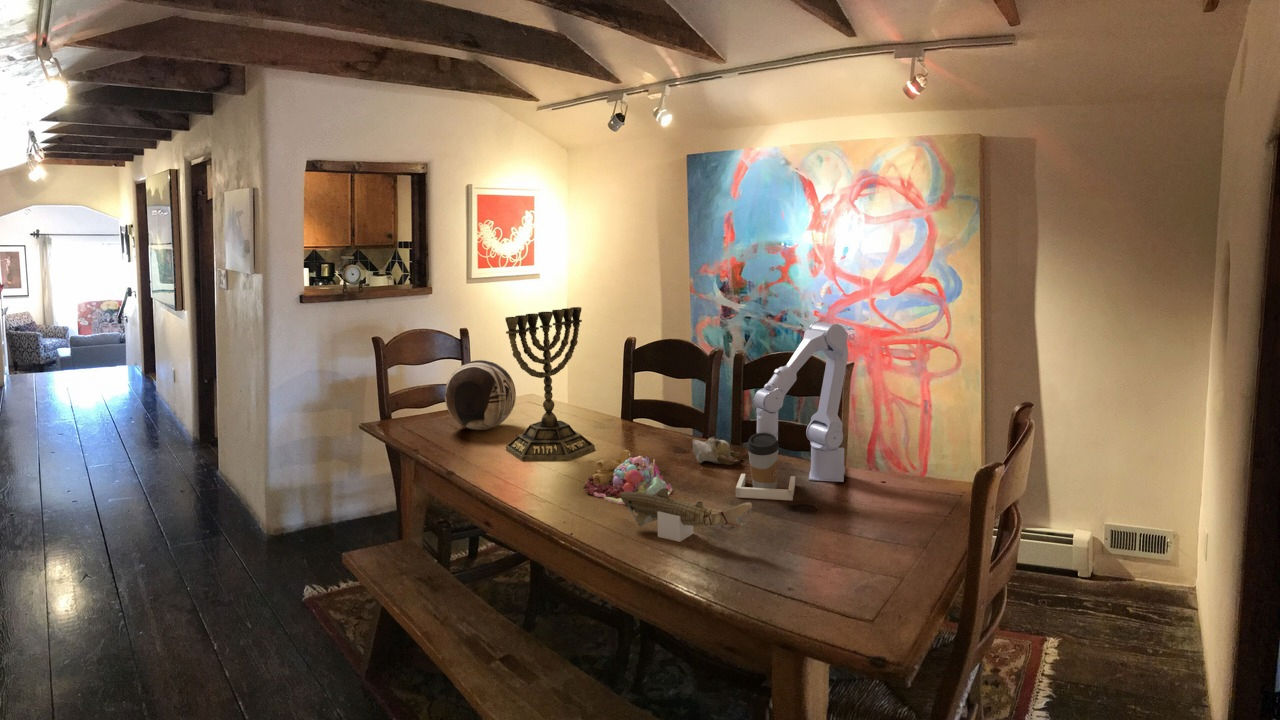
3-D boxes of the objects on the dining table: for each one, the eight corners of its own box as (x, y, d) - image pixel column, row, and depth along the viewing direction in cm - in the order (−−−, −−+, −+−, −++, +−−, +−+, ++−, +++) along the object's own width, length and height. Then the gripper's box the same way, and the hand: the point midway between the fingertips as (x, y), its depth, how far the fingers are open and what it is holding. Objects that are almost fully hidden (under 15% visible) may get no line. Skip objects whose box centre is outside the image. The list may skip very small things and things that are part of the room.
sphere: (435, 436, 288) (431, 366, 284) (462, 420, 313) (458, 355, 309) (504, 438, 284) (500, 366, 280) (525, 421, 309) (523, 355, 305)
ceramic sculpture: (694, 429, 256) (743, 433, 254) (693, 456, 258) (741, 461, 255) (690, 438, 246) (741, 443, 243) (689, 466, 247) (739, 471, 245)
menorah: (546, 469, 247) (540, 319, 240) (483, 458, 260) (476, 316, 253) (613, 441, 277) (610, 308, 270) (553, 433, 290) (549, 305, 283)
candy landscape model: (568, 491, 227) (566, 458, 226) (625, 471, 245) (625, 441, 243) (635, 510, 211) (635, 475, 209) (692, 488, 228) (692, 455, 227)
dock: (794, 485, 228) (795, 476, 228) (792, 500, 215) (792, 491, 215) (741, 482, 231) (741, 473, 231) (735, 497, 219) (735, 488, 218)
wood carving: (742, 559, 178) (742, 509, 176) (611, 528, 198) (610, 483, 196) (760, 546, 185) (760, 498, 183) (632, 517, 205) (631, 473, 203)
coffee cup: (770, 499, 218) (768, 450, 212) (743, 490, 223) (740, 442, 217) (786, 484, 224) (784, 436, 218) (759, 476, 229) (757, 428, 223)
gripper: (755, 426, 233) (754, 472, 235) (749, 438, 219) (749, 488, 221) (780, 427, 231) (779, 474, 233) (776, 440, 217) (775, 489, 219)
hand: (766, 481), depth 227 cm, fingers closed, pressing on coffee cup
